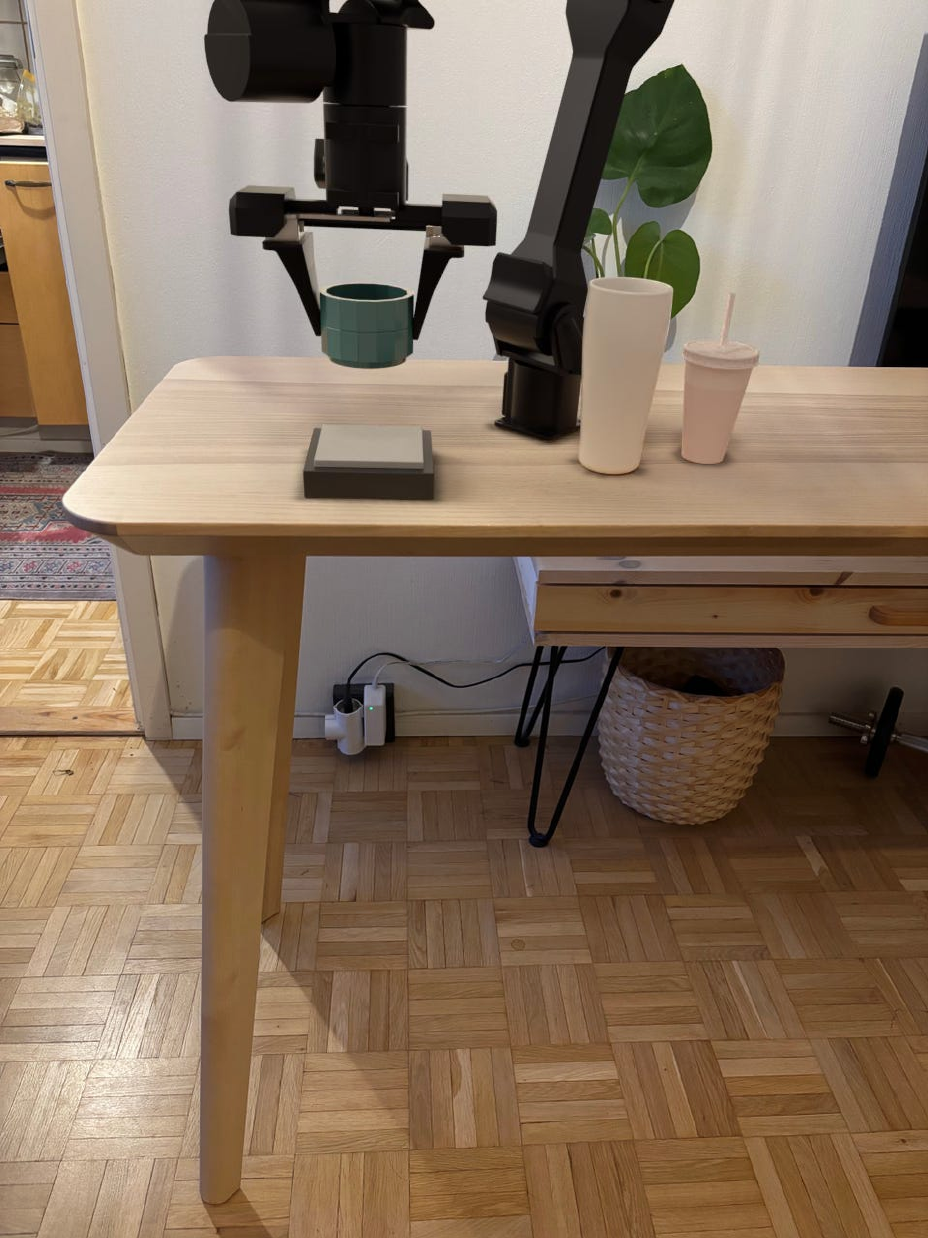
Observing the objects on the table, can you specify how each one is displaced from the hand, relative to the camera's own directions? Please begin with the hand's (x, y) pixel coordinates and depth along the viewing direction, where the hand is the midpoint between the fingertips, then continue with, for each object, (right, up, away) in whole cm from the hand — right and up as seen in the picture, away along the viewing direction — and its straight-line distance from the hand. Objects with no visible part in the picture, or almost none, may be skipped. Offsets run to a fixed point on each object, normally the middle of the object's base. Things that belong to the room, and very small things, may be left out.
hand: (367, 336), depth 71 cm
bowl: (0, -1, +1) cm, 2 cm away
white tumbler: (+20, -9, +9) cm, 23 cm away
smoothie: (+29, -7, +12) cm, 32 cm away
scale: (0, -10, +5) cm, 11 cm away
